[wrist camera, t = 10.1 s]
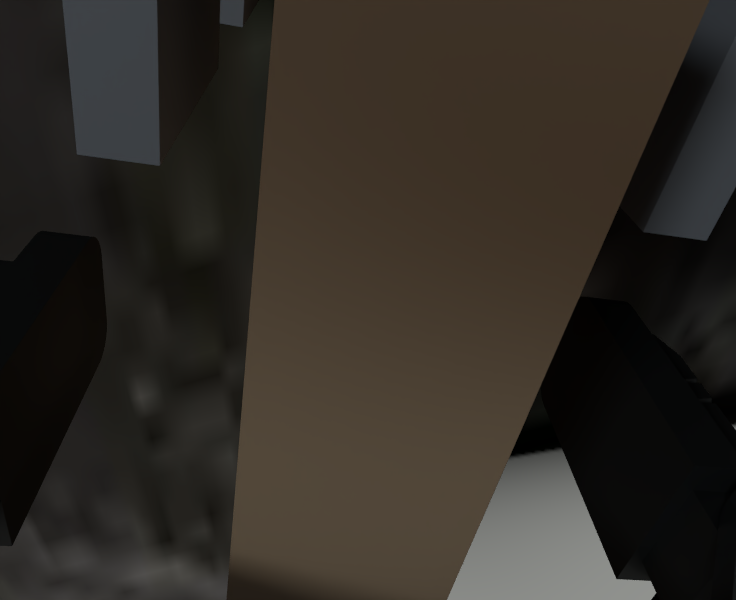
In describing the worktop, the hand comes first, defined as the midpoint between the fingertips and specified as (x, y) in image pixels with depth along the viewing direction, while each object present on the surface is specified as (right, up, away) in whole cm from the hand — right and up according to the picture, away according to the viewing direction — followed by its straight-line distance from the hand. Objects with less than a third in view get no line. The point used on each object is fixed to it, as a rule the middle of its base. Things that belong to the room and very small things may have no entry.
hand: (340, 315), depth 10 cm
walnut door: (0, +3, +5) cm, 6 cm away
